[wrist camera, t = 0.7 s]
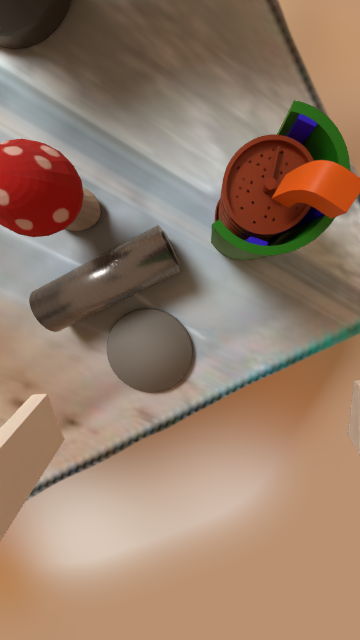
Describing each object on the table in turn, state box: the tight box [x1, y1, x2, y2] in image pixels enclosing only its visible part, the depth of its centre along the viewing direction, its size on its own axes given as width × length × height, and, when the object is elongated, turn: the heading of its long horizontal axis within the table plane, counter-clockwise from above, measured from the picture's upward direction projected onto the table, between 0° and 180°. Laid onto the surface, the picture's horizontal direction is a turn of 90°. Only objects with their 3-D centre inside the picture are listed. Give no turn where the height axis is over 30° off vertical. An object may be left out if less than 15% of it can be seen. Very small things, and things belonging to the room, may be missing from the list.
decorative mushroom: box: [0, 139, 101, 237], centre depth 29 cm, size 10×9×15 cm
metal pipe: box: [29, 225, 181, 332], centre depth 35 cm, size 6×18×6 cm, turn 116°
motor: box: [211, 100, 360, 260], centre depth 25 cm, size 10×9×20 cm
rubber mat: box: [107, 309, 192, 392], centre depth 39 cm, size 12×12×1 cm
